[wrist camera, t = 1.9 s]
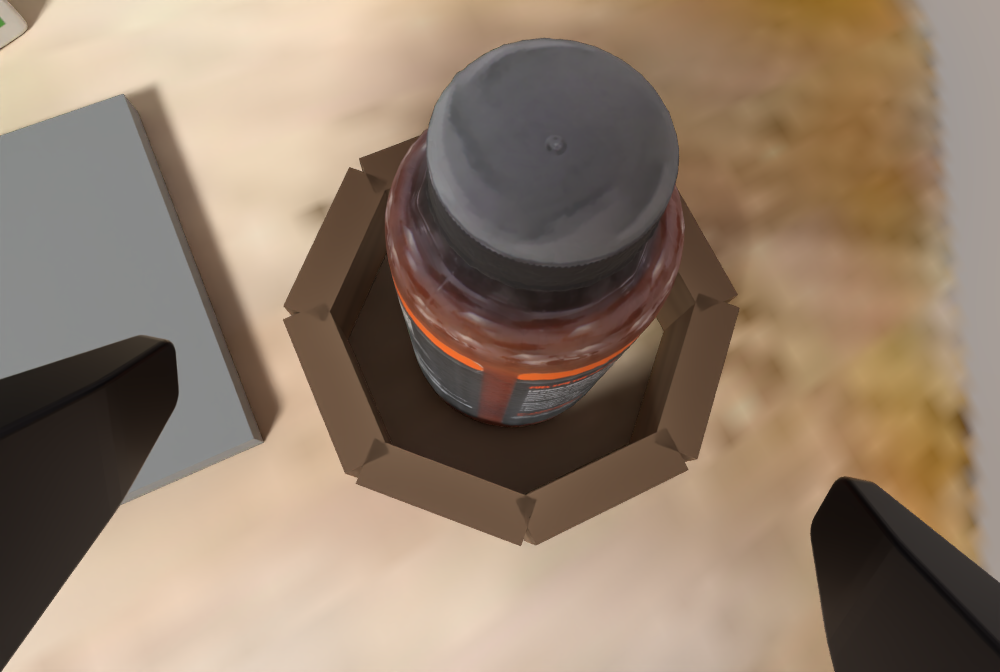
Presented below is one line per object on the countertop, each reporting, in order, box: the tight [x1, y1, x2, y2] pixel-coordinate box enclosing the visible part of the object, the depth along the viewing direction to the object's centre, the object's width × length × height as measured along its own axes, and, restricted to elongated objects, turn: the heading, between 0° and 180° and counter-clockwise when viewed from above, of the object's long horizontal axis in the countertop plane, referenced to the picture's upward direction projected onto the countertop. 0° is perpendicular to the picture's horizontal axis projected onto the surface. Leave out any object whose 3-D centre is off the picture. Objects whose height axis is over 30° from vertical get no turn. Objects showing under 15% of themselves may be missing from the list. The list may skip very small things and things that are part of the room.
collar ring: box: [283, 135, 739, 546], centre depth 20 cm, size 12×12×3 cm
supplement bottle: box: [385, 38, 685, 427], centre depth 16 cm, size 6×6×11 cm
